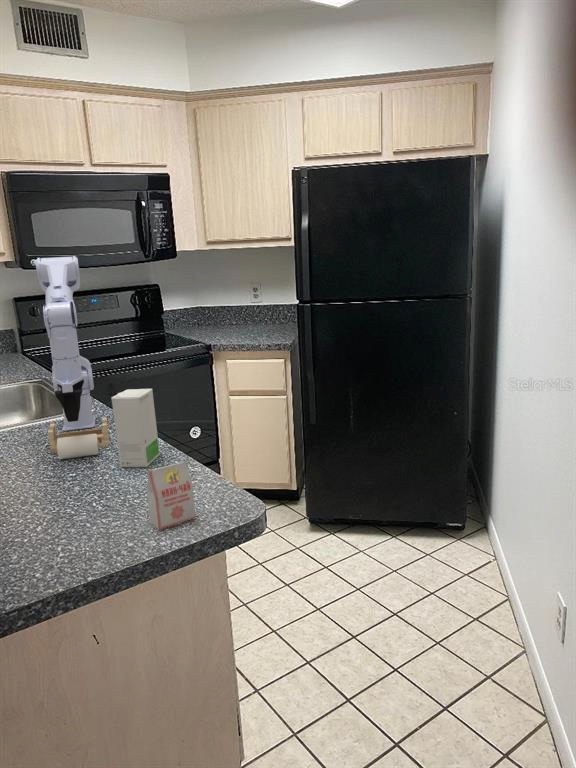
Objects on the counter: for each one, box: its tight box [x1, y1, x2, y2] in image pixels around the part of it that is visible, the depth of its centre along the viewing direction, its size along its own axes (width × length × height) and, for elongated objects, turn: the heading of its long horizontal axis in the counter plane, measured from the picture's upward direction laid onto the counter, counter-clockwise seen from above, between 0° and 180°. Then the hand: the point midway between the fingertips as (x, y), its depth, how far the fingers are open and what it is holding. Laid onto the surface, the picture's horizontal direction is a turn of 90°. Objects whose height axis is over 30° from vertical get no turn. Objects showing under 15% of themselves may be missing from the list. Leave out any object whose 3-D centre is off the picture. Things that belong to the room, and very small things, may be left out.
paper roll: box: [57, 434, 100, 460], centre depth 137 cm, size 9×5×5 cm, turn 106°
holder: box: [47, 416, 110, 454], centre depth 144 cm, size 8×13×5 cm, turn 106°
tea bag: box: [146, 461, 197, 531], centre depth 102 cm, size 4×7×10 cm, turn 124°
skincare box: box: [111, 388, 161, 468], centre depth 130 cm, size 8×7×16 cm
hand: (74, 416), depth 135 cm, fingers open, 7 cm apart
